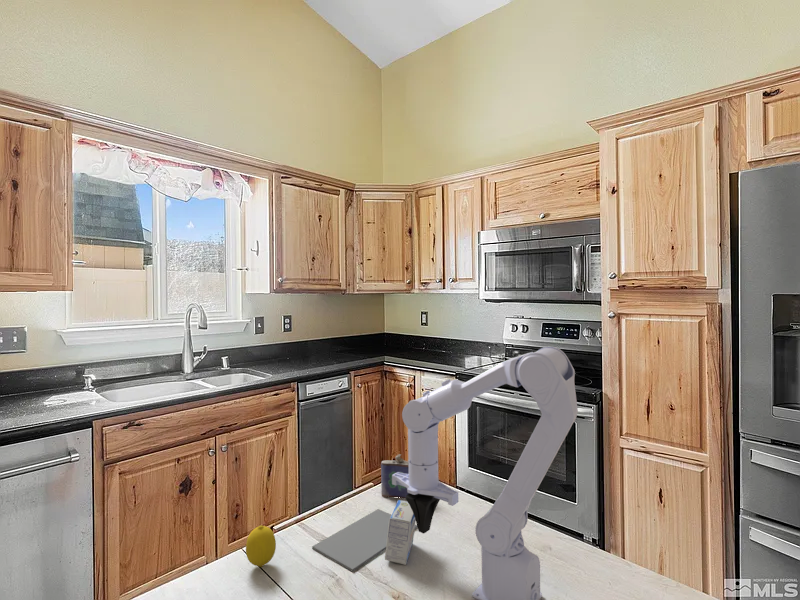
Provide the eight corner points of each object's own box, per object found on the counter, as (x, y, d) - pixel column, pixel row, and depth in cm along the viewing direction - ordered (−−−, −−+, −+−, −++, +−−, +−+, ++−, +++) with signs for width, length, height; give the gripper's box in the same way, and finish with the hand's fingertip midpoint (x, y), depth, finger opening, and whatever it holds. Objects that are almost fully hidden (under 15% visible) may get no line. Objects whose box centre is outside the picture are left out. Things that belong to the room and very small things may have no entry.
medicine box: (406, 566, 85) (411, 522, 84) (383, 560, 86) (389, 517, 85) (413, 543, 93) (418, 503, 92) (392, 538, 94) (397, 498, 93)
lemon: (239, 570, 84) (239, 529, 84) (261, 555, 89) (260, 516, 89) (261, 579, 82) (260, 536, 82) (282, 562, 87) (281, 522, 86)
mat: (417, 527, 99) (417, 525, 99) (352, 571, 83) (352, 569, 83) (378, 511, 106) (378, 509, 106) (312, 548, 91) (312, 546, 91)
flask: (380, 497, 114) (379, 455, 114) (383, 492, 117) (383, 451, 116) (415, 500, 112) (414, 458, 111) (417, 495, 114) (417, 454, 114)
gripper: (381, 457, 86) (382, 526, 86) (442, 477, 77) (443, 553, 77) (404, 447, 92) (405, 512, 92) (464, 464, 82) (464, 536, 83)
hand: (424, 530), depth 85 cm, fingers closed
